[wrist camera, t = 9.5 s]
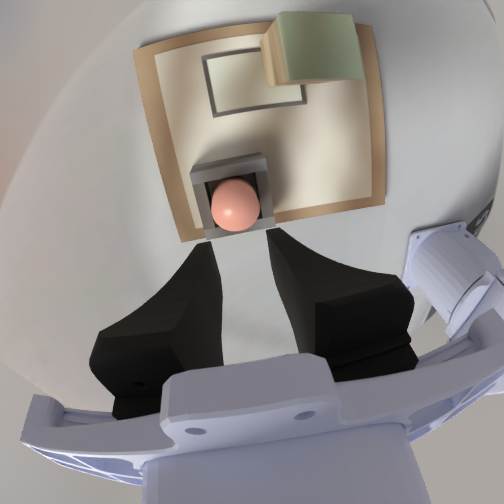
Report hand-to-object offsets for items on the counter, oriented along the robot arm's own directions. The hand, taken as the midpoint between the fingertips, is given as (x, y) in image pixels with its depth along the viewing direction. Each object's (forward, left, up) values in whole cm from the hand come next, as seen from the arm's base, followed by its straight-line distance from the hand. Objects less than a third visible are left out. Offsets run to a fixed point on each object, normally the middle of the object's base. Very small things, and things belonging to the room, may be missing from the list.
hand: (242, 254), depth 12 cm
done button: (0, 0, -8) cm, 8 cm away
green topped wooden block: (-6, -9, -9) cm, 14 cm away
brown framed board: (-4, -5, -10) cm, 12 cm away
